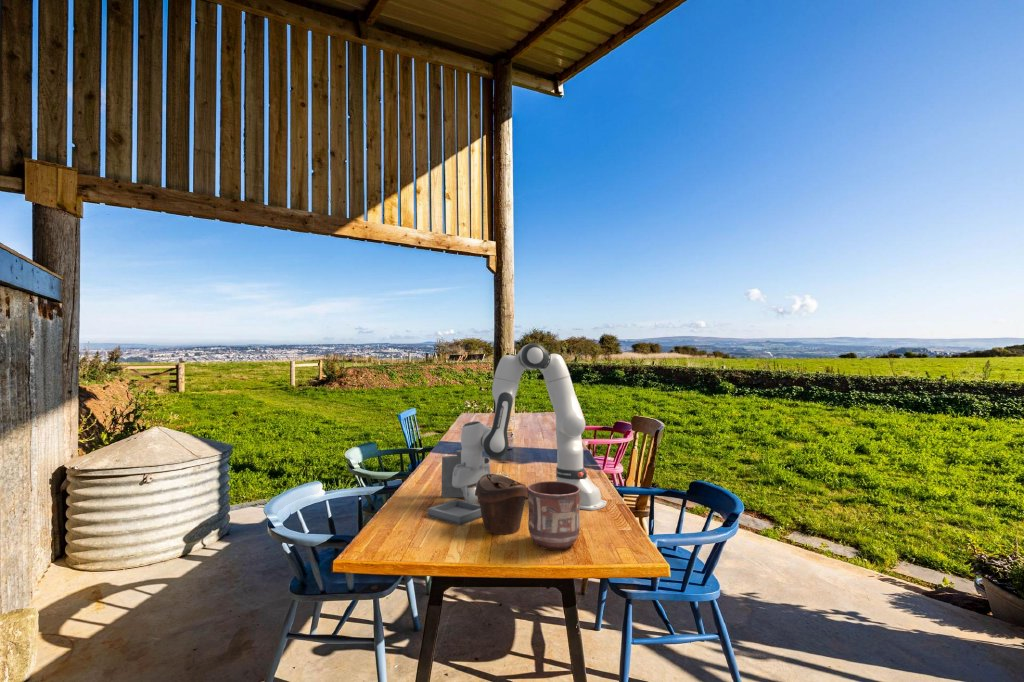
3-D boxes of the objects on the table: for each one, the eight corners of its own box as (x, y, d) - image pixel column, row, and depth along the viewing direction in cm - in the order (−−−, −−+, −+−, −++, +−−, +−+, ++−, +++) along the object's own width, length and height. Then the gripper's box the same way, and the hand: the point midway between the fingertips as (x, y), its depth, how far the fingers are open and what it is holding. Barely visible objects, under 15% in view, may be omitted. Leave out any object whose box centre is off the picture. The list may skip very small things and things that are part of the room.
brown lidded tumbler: (526, 539, 157) (526, 484, 158) (468, 535, 161) (468, 481, 162) (534, 523, 174) (534, 473, 176) (481, 520, 178) (482, 471, 180)
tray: (488, 514, 183) (488, 506, 184) (460, 525, 171) (460, 517, 171) (457, 506, 194) (457, 499, 194) (427, 516, 181) (427, 508, 181)
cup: (481, 500, 198) (481, 485, 198) (472, 503, 193) (472, 488, 194) (471, 498, 201) (471, 483, 202) (462, 501, 197) (462, 486, 197)
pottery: (514, 543, 153) (515, 487, 154) (548, 530, 166) (549, 478, 167) (558, 559, 141) (559, 498, 142) (591, 543, 154) (591, 487, 155)
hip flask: (441, 498, 207) (441, 451, 208) (441, 495, 211) (442, 450, 212) (477, 497, 208) (478, 451, 209) (477, 495, 212) (478, 449, 213)
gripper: (459, 466, 188) (459, 501, 187) (492, 458, 204) (492, 490, 204) (448, 464, 192) (448, 499, 191) (481, 456, 208) (481, 488, 207)
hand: (471, 494), depth 198 cm, fingers closed on cup, 6 cm apart
